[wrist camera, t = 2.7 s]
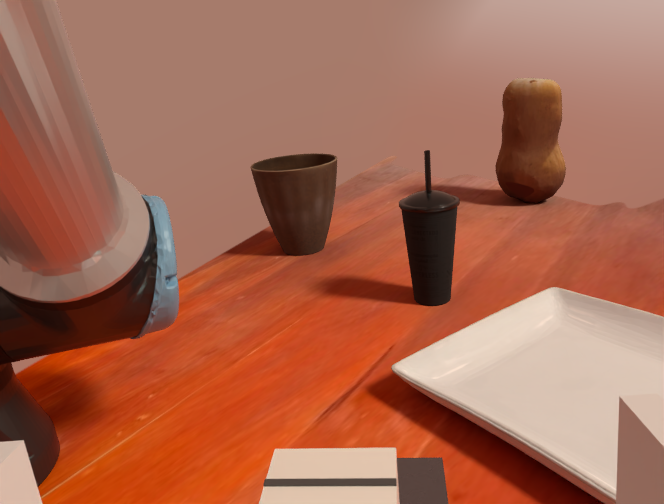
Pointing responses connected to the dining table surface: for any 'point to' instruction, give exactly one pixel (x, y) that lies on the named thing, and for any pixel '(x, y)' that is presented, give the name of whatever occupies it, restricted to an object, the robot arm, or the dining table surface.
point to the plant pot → (298, 199)
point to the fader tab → (332, 476)
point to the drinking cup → (430, 240)
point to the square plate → (549, 379)
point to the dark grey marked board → (421, 481)
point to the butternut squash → (531, 140)
